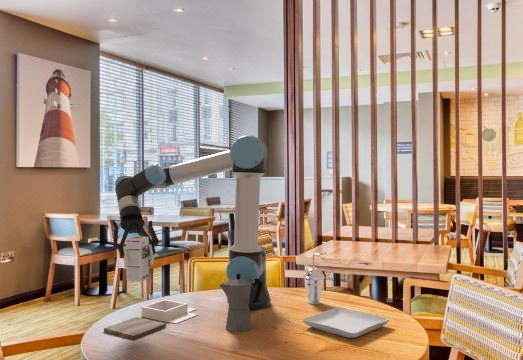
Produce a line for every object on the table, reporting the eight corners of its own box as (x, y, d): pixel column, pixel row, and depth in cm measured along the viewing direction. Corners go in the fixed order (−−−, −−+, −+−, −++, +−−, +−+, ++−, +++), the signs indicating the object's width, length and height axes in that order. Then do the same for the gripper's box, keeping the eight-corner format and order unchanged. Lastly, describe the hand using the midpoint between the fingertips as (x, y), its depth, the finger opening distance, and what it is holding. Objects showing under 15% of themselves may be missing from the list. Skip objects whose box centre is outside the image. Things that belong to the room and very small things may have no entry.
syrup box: (141, 282, 156) (141, 238, 156) (125, 281, 158) (125, 238, 157) (149, 278, 162) (149, 236, 161) (133, 277, 163) (133, 235, 163)
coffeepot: (225, 334, 150) (224, 278, 150) (215, 326, 158) (214, 272, 158) (268, 327, 156) (268, 273, 156) (257, 319, 165) (256, 268, 165)
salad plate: (338, 315, 171) (338, 305, 171) (391, 328, 156) (391, 317, 156) (300, 328, 156) (300, 318, 156) (354, 345, 141) (354, 333, 141)
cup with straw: (312, 298, 192) (311, 249, 192) (330, 302, 186) (329, 251, 186) (298, 302, 186) (298, 252, 186) (317, 307, 180) (316, 254, 180)
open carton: (206, 311, 175) (206, 302, 175) (176, 323, 161) (176, 313, 161) (173, 305, 184) (173, 296, 184) (141, 316, 170) (141, 306, 170)
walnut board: (165, 327, 158) (165, 323, 158) (134, 339, 146) (134, 335, 146) (136, 320, 165) (136, 317, 165) (103, 332, 154) (103, 328, 154)
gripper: (156, 216, 177) (168, 267, 163) (99, 219, 168) (106, 273, 154) (160, 203, 173) (172, 254, 159) (101, 205, 163) (108, 259, 149)
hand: (139, 263), depth 156 cm, fingers closed on syrup box, 8 cm apart
